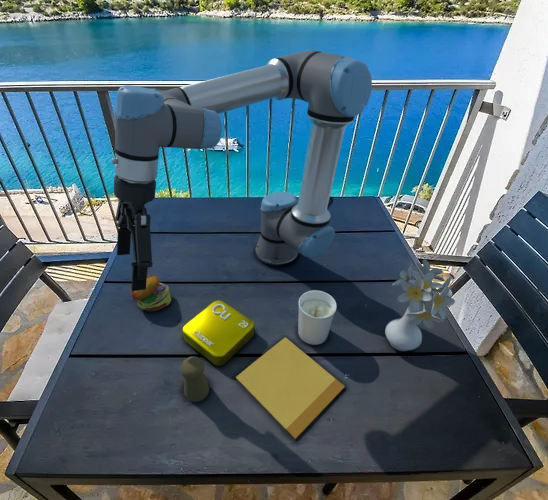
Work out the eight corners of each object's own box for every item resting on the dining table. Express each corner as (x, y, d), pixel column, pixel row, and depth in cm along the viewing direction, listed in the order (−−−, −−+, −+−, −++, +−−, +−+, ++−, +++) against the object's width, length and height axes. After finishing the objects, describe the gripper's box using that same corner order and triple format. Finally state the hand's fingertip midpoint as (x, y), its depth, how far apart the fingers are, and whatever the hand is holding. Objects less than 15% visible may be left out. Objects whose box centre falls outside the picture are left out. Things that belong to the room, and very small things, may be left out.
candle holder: (332, 324, 100) (339, 295, 93) (327, 351, 93) (333, 322, 86) (299, 315, 103) (303, 286, 95) (291, 341, 96) (294, 312, 88)
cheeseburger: (165, 316, 102) (151, 292, 97) (134, 317, 106) (119, 293, 100) (178, 292, 110) (165, 268, 104) (149, 293, 113) (135, 270, 108)
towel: (285, 338, 97) (285, 336, 96) (344, 387, 85) (345, 386, 85) (235, 378, 87) (235, 376, 87) (295, 439, 75) (295, 438, 75)
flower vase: (383, 371, 88) (410, 304, 73) (372, 316, 103) (393, 249, 87) (436, 377, 87) (476, 310, 72) (418, 320, 101) (448, 253, 86)
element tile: (180, 338, 96) (178, 327, 93) (218, 307, 105) (217, 296, 102) (219, 369, 89) (218, 358, 86) (257, 332, 98) (257, 321, 95)
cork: (185, 379, 87) (179, 353, 80) (209, 377, 87) (205, 351, 80) (183, 402, 82) (176, 376, 75) (209, 400, 82) (204, 374, 76)
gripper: (101, 154, 72) (101, 242, 82) (131, 205, 54) (125, 310, 64) (139, 156, 76) (134, 240, 86) (177, 205, 58) (165, 303, 68)
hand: (130, 270), depth 75 cm, fingers open, 13 cm apart
